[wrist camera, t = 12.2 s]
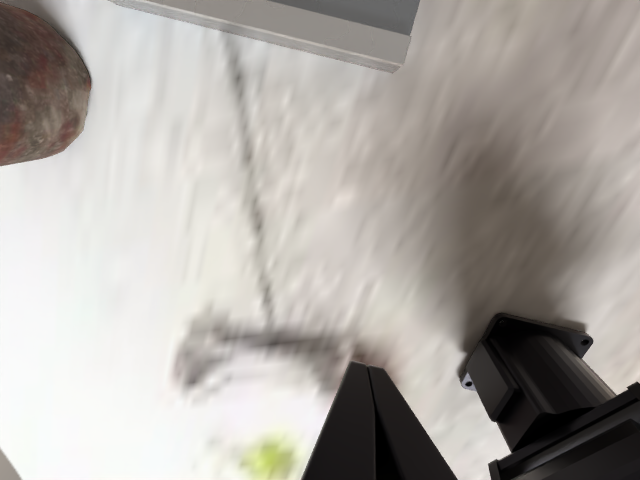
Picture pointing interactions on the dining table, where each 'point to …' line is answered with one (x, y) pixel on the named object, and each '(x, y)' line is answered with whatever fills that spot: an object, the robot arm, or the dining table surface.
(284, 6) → the jig
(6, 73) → the candle
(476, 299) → the dining table surface
